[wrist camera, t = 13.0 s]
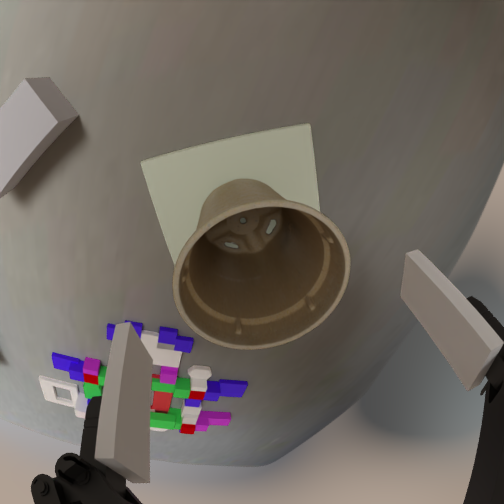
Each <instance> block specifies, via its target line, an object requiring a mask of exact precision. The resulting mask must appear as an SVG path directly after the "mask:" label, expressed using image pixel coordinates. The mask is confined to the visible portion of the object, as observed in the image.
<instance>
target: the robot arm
mask: <svg viewBox="0 0 504 504" xmlns="http://www.w3.org/2000/svg"><path fill="white" fill-rule="evenodd" d="M400 297H401V298H402V300H403V301H404V302H405V303H406V305H407V306H408V307H409V309H410V310H411V311H412V313H413V314H414V315H415V317H416V318H417V319H418V321H419V322H420V323H421V325H422V326H423V327H424V328H425V330H426V332H427V333H428V334H429V336H430V337H431V338H432V340H433V341H434V343H435V344H436V345H437V347H438V348H439V350H440V351H441V353H442V354H443V355H444V357H445V358H446V360H447V361H448V363H449V364H450V365H451V367H452V368H453V370H454V372H455V373H456V375H457V376H458V378H459V379H460V380H461V382H462V384H463V385H464V386H465V388H466V390H467V391H469V390H471V389H473V388H474V387H476V386H478V385H479V384H480V383H481V382H482V380H483V379H484V377H485V376H486V377H487V379H488V382H487V383H486V385H485V386H484V388H483V389H482V391H481V394H480V395H483V393H484V392H485V390H486V394H485V403H484V412H483V419H482V426H481V432H480V437H479V443H478V448H477V453H476V458H475V462H474V466H473V470H472V475H471V479H470V482H469V486H468V489H467V493H466V497H465V500H464V503H463V504H504V327H503V326H502V325H501V324H500V322H499V321H498V320H497V319H496V318H495V317H493V315H492V313H491V312H490V311H488V309H487V308H486V307H485V306H484V305H483V303H482V302H480V301H479V300H477V299H475V298H474V297H472V296H471V297H468V298H465V297H464V296H463V295H462V293H461V292H460V291H459V290H458V289H457V288H456V287H455V286H454V285H453V284H452V283H451V282H450V281H449V280H448V279H447V278H446V277H445V276H444V275H443V274H442V273H441V271H440V270H439V269H438V268H437V267H436V266H435V265H434V264H433V263H432V262H431V261H430V260H429V259H428V258H427V257H426V256H424V255H423V254H422V253H421V252H420V251H419V250H414V251H411V252H408V253H406V256H405V264H404V272H403V279H402V286H401V293H400ZM152 366H153V359H152V357H151V356H150V354H149V353H148V351H147V349H146V348H145V346H144V344H143V343H142V341H141V339H140V338H139V336H138V334H137V333H136V331H135V329H134V327H133V326H132V324H131V322H126V323H121V324H116V326H115V330H114V335H113V340H112V344H111V349H110V354H109V360H108V365H107V370H106V376H105V382H104V388H103V394H102V396H94V397H92V398H91V400H90V402H89V404H88V406H87V409H86V415H85V419H86V420H85V421H84V429H83V435H82V442H81V450H80V456H78V455H77V454H74V453H66V454H64V455H62V456H61V457H60V458H59V459H58V460H57V463H56V465H55V473H56V476H57V477H56V478H51V477H50V476H48V475H45V474H40V475H38V476H36V477H35V478H34V480H33V481H32V485H31V492H32V496H33V499H34V503H35V504H142V503H141V502H140V501H139V499H138V498H137V497H136V496H135V495H134V494H133V493H132V492H131V490H130V489H129V488H128V487H126V479H127V480H128V481H130V482H132V483H150V405H151V383H152Z"/></svg>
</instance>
